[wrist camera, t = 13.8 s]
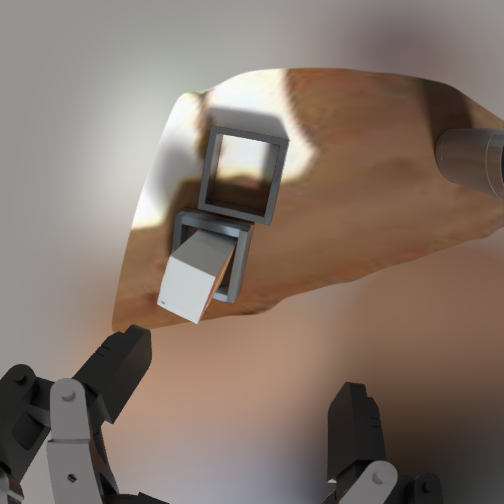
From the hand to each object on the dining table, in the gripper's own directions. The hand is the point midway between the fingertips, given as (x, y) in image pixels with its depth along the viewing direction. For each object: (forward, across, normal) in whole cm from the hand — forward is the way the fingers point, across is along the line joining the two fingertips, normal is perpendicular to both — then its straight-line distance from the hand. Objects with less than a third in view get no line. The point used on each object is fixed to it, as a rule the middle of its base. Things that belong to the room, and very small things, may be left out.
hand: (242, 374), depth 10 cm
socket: (+34, +7, -3) cm, 35 cm away
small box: (+33, +10, +11) cm, 36 cm away
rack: (+34, +10, +11) cm, 37 cm away
